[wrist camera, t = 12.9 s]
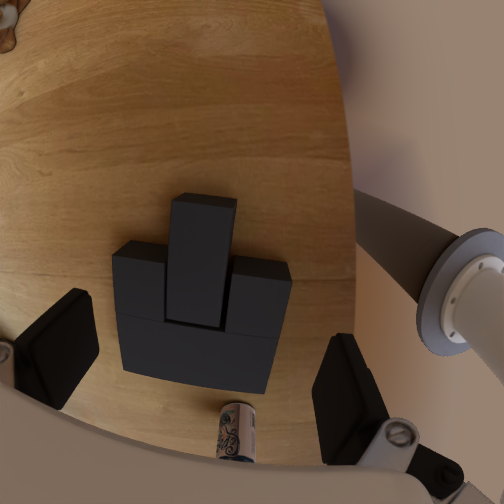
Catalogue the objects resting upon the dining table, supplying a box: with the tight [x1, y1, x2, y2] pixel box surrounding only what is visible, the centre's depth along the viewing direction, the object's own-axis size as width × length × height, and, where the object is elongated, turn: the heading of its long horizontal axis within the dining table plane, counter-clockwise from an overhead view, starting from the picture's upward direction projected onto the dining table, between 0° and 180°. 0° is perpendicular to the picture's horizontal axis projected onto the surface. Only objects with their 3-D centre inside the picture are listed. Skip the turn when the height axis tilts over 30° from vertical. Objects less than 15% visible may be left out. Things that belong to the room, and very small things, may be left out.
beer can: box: [216, 403, 255, 463], centre depth 30 cm, size 5×5×12 cm
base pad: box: [112, 240, 292, 394], centre depth 28 cm, size 16×14×4 cm
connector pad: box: [166, 193, 237, 327], centre depth 26 cm, size 5×11×4 cm, turn 171°
